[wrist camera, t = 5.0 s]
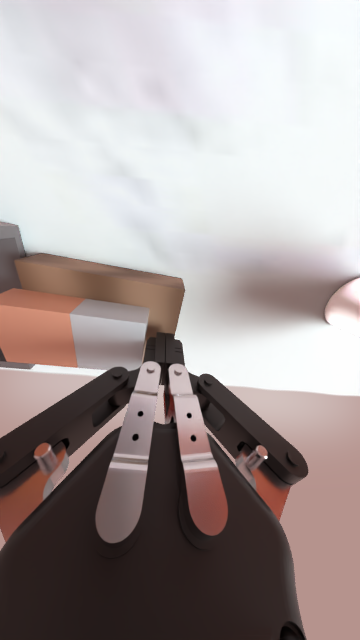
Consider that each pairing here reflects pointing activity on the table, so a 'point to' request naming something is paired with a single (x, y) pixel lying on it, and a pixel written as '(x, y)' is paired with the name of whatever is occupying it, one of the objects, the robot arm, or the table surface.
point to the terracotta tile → (37, 327)
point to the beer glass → (345, 308)
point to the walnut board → (106, 286)
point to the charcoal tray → (10, 272)
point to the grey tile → (109, 334)
